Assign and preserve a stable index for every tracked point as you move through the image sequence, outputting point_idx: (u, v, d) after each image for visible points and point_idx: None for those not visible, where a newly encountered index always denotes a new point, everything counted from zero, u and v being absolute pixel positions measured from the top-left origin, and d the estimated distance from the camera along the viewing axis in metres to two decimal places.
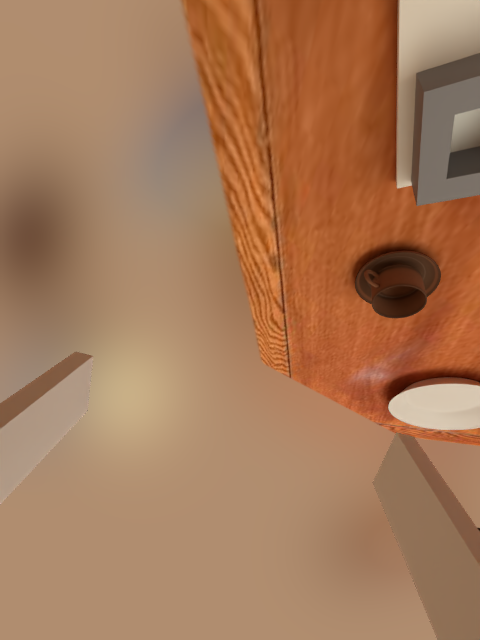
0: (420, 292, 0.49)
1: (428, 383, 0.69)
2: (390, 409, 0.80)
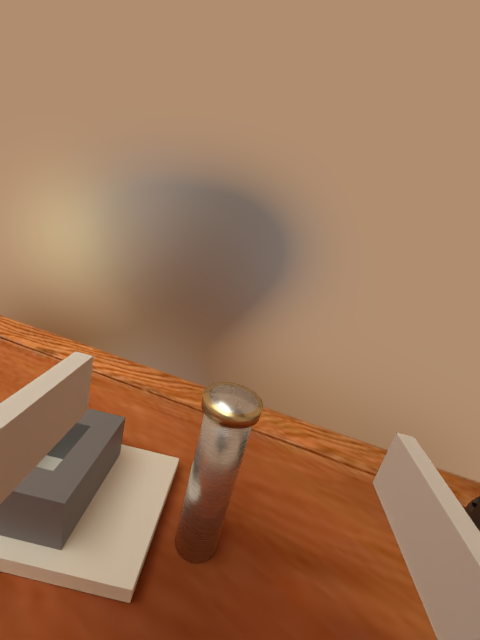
0: None
1: None
2: None
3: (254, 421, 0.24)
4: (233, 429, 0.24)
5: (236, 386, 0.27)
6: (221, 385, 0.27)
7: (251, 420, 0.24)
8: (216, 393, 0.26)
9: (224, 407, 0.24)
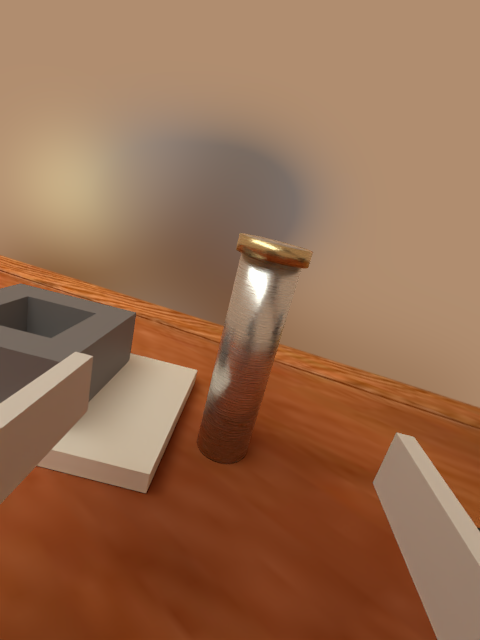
0: None
1: None
2: None
3: (305, 262, 0.19)
4: (279, 270, 0.19)
5: (276, 241, 0.22)
6: (259, 237, 0.22)
7: (302, 257, 0.19)
8: (254, 237, 0.21)
9: (267, 241, 0.19)
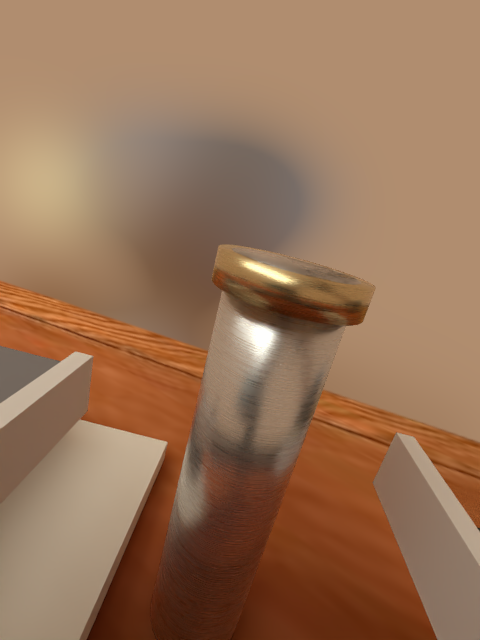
0: None
1: None
2: None
3: (362, 311, 0.09)
4: (305, 331, 0.08)
5: (292, 258, 0.12)
6: (260, 251, 0.11)
7: (358, 303, 0.08)
8: (250, 252, 0.10)
9: (280, 267, 0.08)
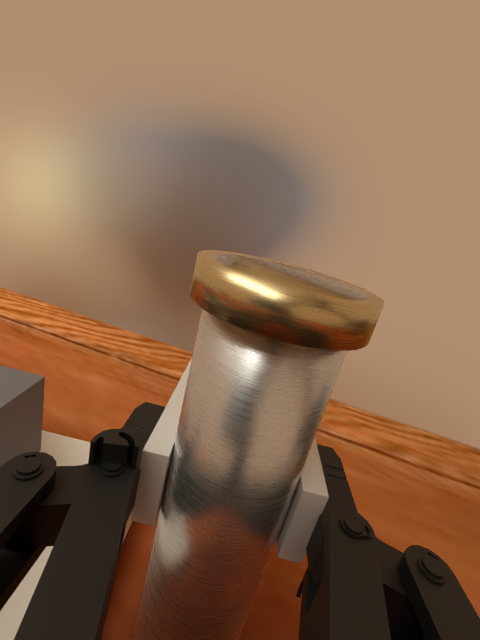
0: None
1: None
2: None
3: (369, 332, 0.07)
4: (300, 357, 0.07)
5: (286, 265, 0.10)
6: (248, 257, 0.10)
7: (364, 324, 0.07)
8: (236, 260, 0.08)
9: (269, 280, 0.07)
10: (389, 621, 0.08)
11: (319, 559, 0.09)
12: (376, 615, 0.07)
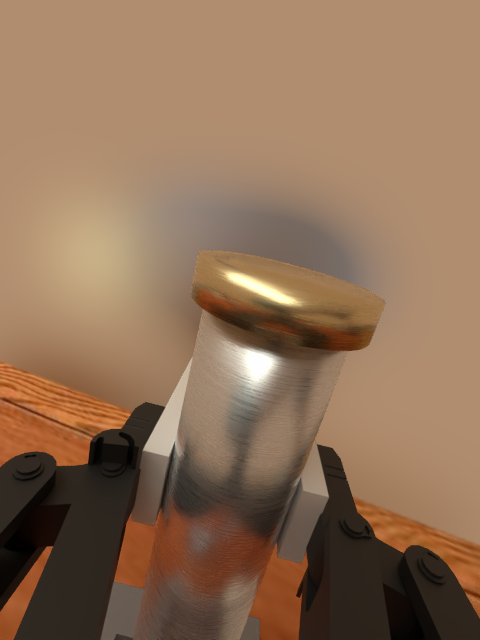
0: None
1: None
2: None
3: (370, 332, 0.07)
4: (301, 358, 0.07)
5: (287, 265, 0.10)
6: (249, 257, 0.10)
7: (365, 324, 0.07)
8: (237, 260, 0.08)
9: (269, 279, 0.07)
10: (389, 621, 0.08)
11: (319, 559, 0.09)
12: (376, 615, 0.07)
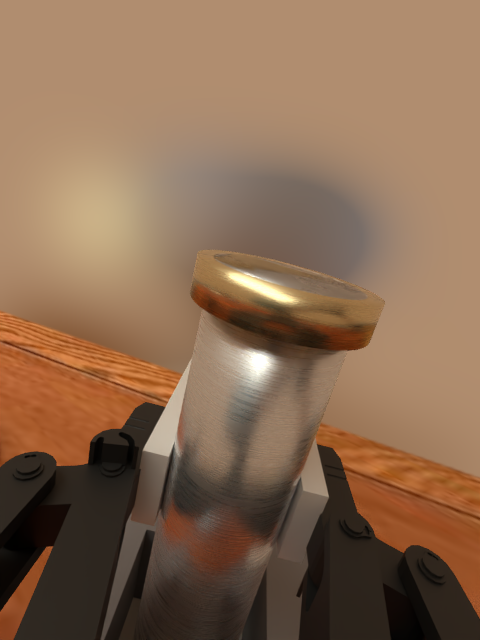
0: None
1: None
2: None
3: (369, 332, 0.07)
4: (300, 358, 0.07)
5: (287, 265, 0.10)
6: (248, 256, 0.10)
7: (364, 324, 0.07)
8: (236, 260, 0.08)
9: (269, 279, 0.07)
10: (389, 621, 0.08)
11: (319, 559, 0.09)
12: (376, 615, 0.07)
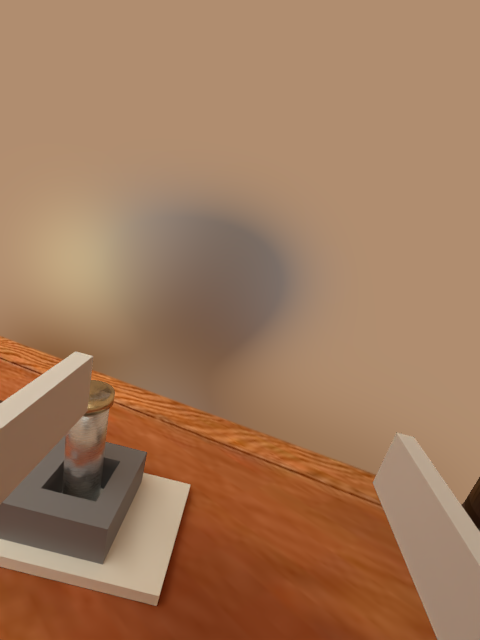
0: None
1: None
2: None
3: (99, 410, 0.32)
4: (83, 416, 0.32)
5: (99, 384, 0.35)
6: None
7: (95, 409, 0.31)
8: None
9: None
10: None
11: None
12: None
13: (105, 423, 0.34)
